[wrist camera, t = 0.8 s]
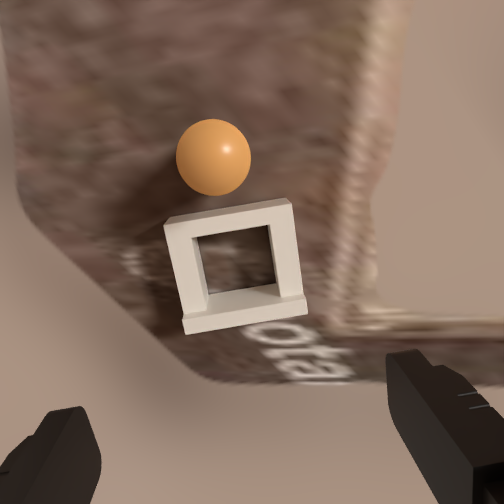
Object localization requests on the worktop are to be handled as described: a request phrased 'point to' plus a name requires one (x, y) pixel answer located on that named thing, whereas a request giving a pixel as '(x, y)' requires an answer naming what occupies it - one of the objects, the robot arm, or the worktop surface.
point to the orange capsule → (213, 157)
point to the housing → (243, 300)
